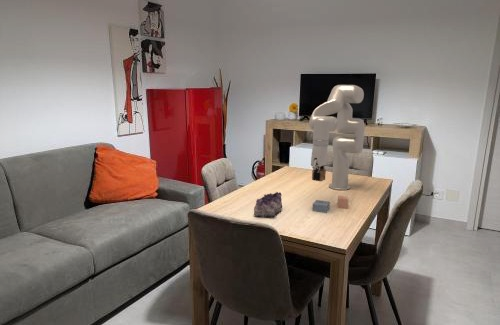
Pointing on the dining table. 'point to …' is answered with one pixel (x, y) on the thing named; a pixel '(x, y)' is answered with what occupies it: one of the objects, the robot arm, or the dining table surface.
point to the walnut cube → (322, 174)
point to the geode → (268, 205)
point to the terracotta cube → (342, 202)
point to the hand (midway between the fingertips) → (318, 178)
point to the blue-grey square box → (321, 206)
